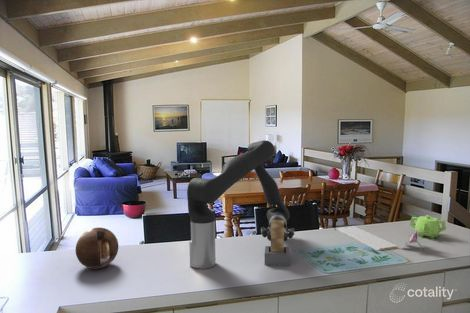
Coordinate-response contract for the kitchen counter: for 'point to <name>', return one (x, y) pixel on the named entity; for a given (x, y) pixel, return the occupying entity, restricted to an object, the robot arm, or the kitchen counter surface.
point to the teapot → (427, 226)
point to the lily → (414, 238)
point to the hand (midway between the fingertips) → (277, 238)
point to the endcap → (277, 257)
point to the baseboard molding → (366, 238)
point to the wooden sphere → (96, 248)
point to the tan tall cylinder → (277, 236)
